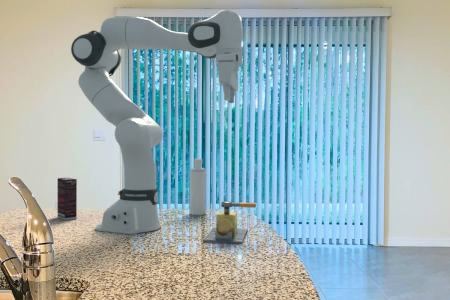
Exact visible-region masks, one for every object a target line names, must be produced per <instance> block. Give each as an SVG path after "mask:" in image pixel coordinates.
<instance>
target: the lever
mask: <svg viewBox="0 0 450 300" xmlns="http://www.w3.org/2000/svg"><path fill="white" fill-rule="evenodd" d="M220 205H221V208H224V207H230V208H234V207H235V208H236V207H238V208H252V209H253V208H256V207H257V203H256V202H241V201H240V202H233V201H230V200H229V201H228V200H226V201H224V200H223V201H221V204H220Z"/></svg>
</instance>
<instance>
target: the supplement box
mask: <svg viewBox="0 0 450 300" xmlns="http://www.w3.org/2000/svg"><path fill="white" fill-rule="evenodd" d="M77 181H78V180H77V178H71V177H58V178H57V218H58V219H61V220H63V221H72V220H77V218H78V217H77V211H78V210H77V203H78V202H77V201H78V199H77V195H78V193H77V192H78V191H77V190H78V189H77V185H78V183H77Z"/></svg>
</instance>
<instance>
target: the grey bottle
mask: <svg viewBox="0 0 450 300" xmlns="http://www.w3.org/2000/svg"><path fill="white" fill-rule="evenodd" d="M193 164H194V167H192V168H191V169H190V170H189V171H190V173H189V175H190V176H189V214H190V215H191V214H192V216H204V215H206V214H207V212H206V211H207V210H206V209H207V201H206V200H207V169H205V168H204V167H203V166H202V165H203V158H193Z"/></svg>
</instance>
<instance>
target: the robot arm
mask: <svg viewBox="0 0 450 300" xmlns="http://www.w3.org/2000/svg"><path fill="white" fill-rule="evenodd" d="M242 21H243V20H242V17H241V16H240V15H239V13H237V12H236V11H233V10H230V9H229V10H228V9H222V10H219V11H218V12H217V13H216V14H214V15H213V16H212V17H210V18H207V19H204V20H200V21H195V22H193V24H191V26H190V27H189V29H188V31H187V32H180V31H179V32H178V31H177V32H176V31H173V30H169V29H167V28H165V27H163V26H162V25H160V24H159V23H157V22H156V21H153V20H152V19H149V18H145V17H142V16H141V17H140V16H128V15H127V16H115V17H109V18H106V19H104V21H102V22H101V26H100V31H98V30H91V31H89V32H87V33H84V34H80V35H79V36H77V37H76V38H75V39H74V40H73V41H72V43H71V46H70V47H71V48H70V51H71V52H70V53H71V55H72V58H73V59H74V60H75V61H76V62H77V63H78V64H80V65H82V66H83V67H84V71H82V72H81V74H80V75H79V76H78V80H77V82H78V85H79V88H80V89H81V91H82V93H83V94H84V96H85V97H86V98H87V100H88V101H89V103H90V104H91V105H92V106H93V107H94V109H96V110H97V111H98V113H99V114H100V115H101V116H102V117H103V118H104V119H105V120H106V121H108V122H109V123H110V124H112V125H113V126H115V130H114V137H115V141H116V142H117V144H118V145H119V148H120V153H121V157H122V162H123V168H124V170H123V171H124V188H122V189H121V190H119V191H117V196H119V199H118V200H117V201H115V202H114V203H113V204H112V205H110V206H109V207H107V208H106V209H105V210H104V212H103V215H102V221H101V222H100V223H98V224H97V225H95V231H97V232H98V231H100V232H107V233H116V234H117V233H118V234H127V235H132V234H138V233H139V234H140V233H145V232H153V231H157V230H159V229H160V228H161V227H162V226H161V221H160V219H159V213H158V200H159V191H158V188H157V165H156V162H155V160H154V156H153V151H152V149H153V148H155V147H156V146H158V145H159V144H160V143H161V142H162V140H163V137H164V133H163V132H164V131H163V129H162V127H161V126H160V124H158V123H157V122H156V121H155V120H153V119H152V118H151V117H150V115H148V114H147V113H146V112H145V111H144V110H143V109H142V108H140V106H138V105H137V104H136V103H134V102H133V100H131V99H130V98H129V97H128V96H127V95H126V94H125V92H124V91H123V90H122V89H121V88H120V87H119V86H118V85H117V84H116V83H115V82H114V80H113V79H112V78H111V76H113V75H114V74H115V72H116V70H117V69H118V68H119V66H120V64H121V62H122V55H121V52H120V51H119V50H123V49H124V50H125V49H128V50H171V51H172V50H173V51H182V52H192V53H196V54H198V55H200V56H202V57H203V58H205V59H215V64H216V67H217V73H218V74H217V75H218V81H219V84H220V85H221V86H222V88H223V89H222V90H223V99H224V101H228V103H229V104H234V103H235V95H236V92H238V90H239V76H238V75H239V74H238V71H239V69H240V67H242V66H243V46H242V43H243V42H242V41H243V39H244V38H243V37H244V36H243V22H242Z"/></svg>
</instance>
